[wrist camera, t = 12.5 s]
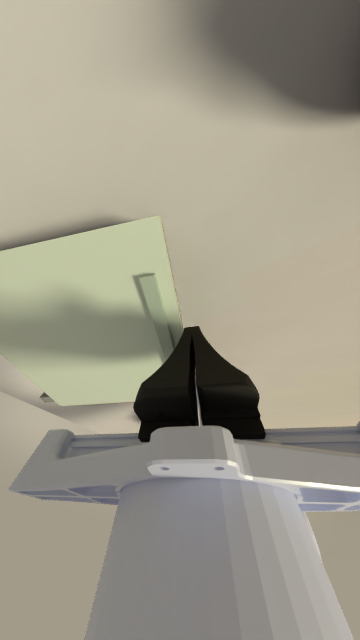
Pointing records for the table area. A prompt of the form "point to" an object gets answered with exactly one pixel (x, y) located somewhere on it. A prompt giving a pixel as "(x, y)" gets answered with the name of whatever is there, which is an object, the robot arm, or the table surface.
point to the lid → (90, 312)
